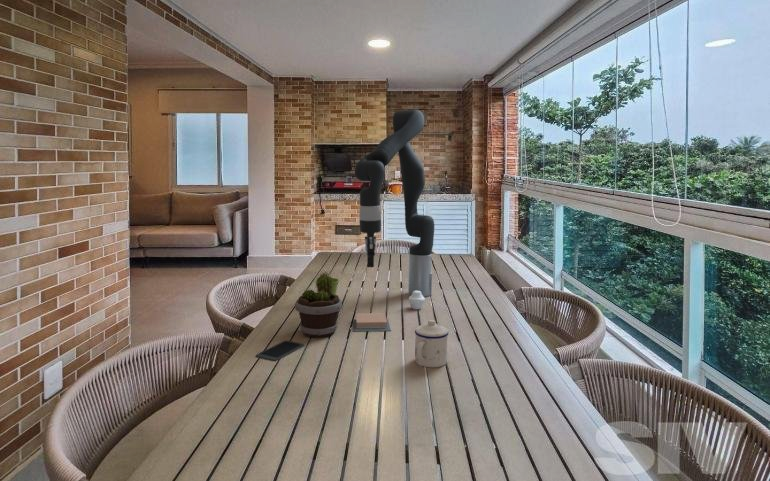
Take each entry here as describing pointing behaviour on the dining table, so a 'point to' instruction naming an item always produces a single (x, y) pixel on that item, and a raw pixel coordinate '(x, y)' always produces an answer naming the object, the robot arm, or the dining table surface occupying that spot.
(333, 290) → the plant pot
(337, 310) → the flowerpot
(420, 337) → the teacup with lid
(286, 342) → the cell phone
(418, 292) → the white citrus juicer
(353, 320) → the mat
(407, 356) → the dining table surface
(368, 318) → the tile
